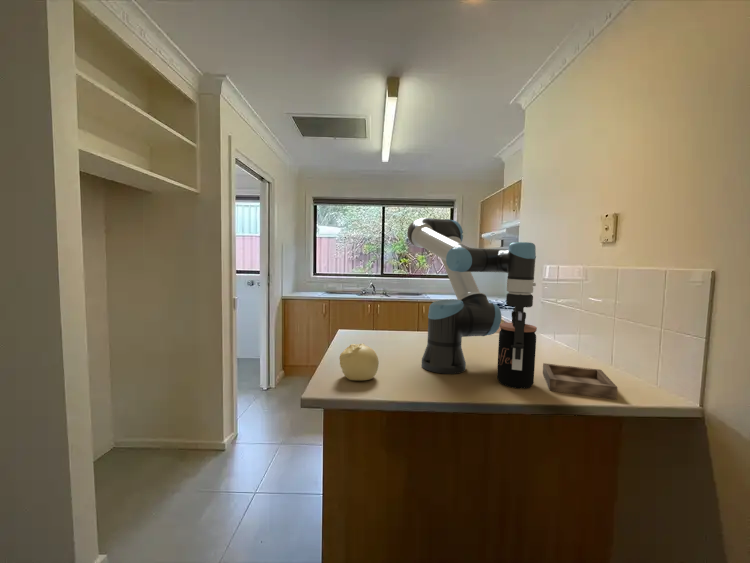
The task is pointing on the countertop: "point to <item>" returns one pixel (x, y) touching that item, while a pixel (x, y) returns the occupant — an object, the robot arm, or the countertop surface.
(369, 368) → the sculpture
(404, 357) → the countertop surface
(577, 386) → the wooden tray
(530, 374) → the coffee jar
